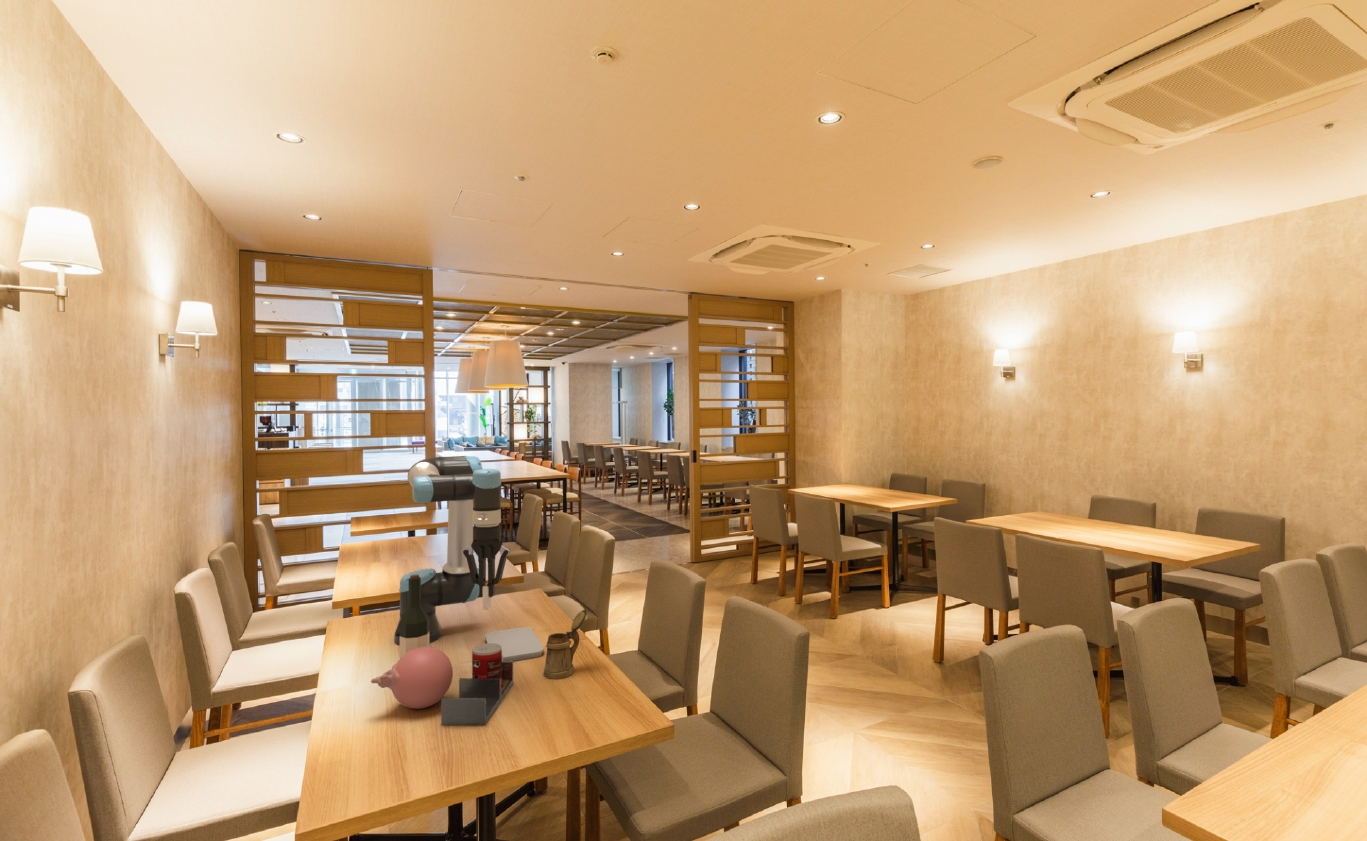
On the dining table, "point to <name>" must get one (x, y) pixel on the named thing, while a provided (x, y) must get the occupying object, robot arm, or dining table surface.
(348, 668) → the dining table surface
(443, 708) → the rack
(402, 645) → the wine bottle
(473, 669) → the canned food
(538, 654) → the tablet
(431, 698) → the balloon
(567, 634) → the wooden mug
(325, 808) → the dining table surface
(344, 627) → the dining table surface
